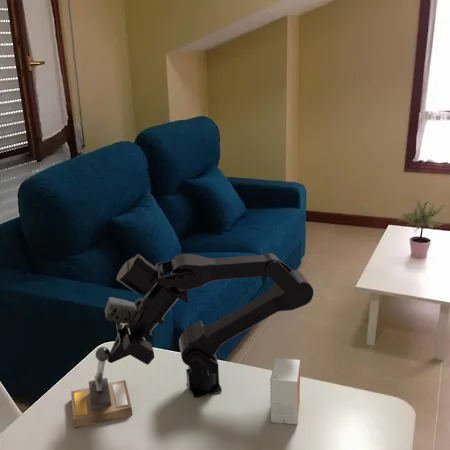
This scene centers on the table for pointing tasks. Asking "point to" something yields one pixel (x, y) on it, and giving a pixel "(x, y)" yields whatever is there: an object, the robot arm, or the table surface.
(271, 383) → the small box
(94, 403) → the switch unit
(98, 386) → the lever
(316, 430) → the table surface
